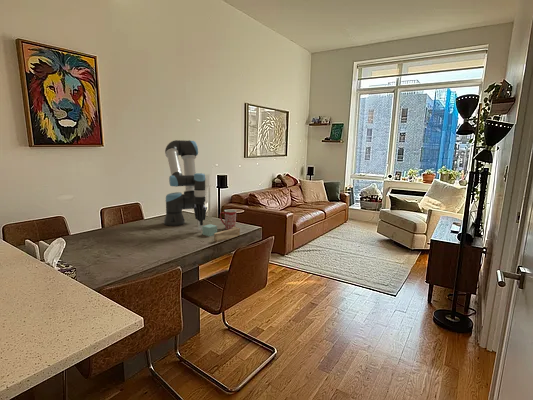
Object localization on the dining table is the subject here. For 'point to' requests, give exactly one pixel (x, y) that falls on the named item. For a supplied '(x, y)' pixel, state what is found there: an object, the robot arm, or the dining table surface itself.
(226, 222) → the mug
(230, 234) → the stop board
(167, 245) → the dining table surface
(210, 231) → the block
